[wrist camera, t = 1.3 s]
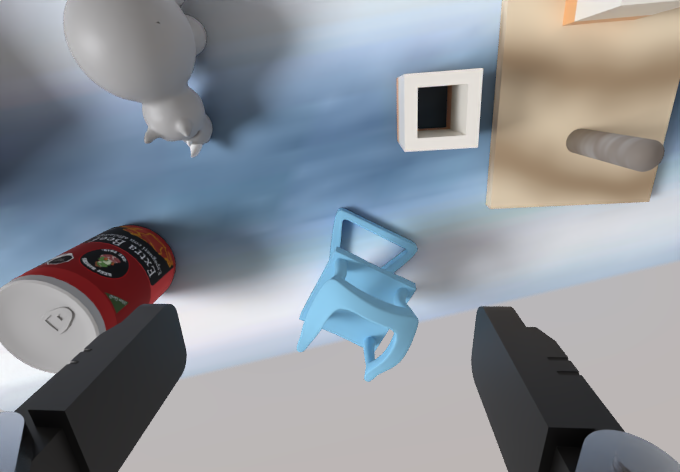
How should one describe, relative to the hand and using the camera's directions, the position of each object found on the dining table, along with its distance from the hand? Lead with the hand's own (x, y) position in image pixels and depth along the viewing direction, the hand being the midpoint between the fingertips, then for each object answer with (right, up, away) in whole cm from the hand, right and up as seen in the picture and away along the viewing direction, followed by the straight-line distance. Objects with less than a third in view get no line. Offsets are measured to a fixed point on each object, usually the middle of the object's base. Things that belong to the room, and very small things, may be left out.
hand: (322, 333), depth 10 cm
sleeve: (+7, +13, +18) cm, 23 cm away
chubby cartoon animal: (-12, +16, +19) cm, 27 cm away
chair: (+2, 0, +24) cm, 24 cm away
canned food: (-19, 0, +25) cm, 31 cm away
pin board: (+18, +15, +17) cm, 29 cm away
